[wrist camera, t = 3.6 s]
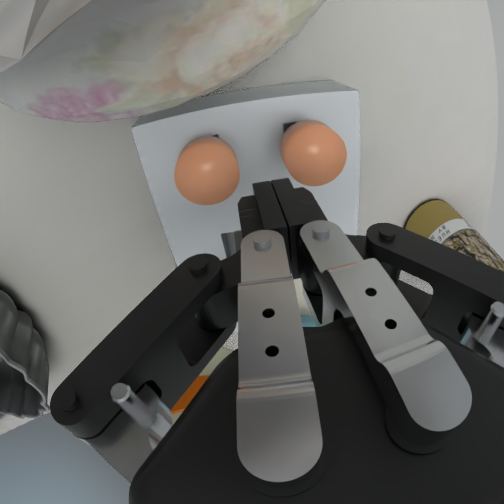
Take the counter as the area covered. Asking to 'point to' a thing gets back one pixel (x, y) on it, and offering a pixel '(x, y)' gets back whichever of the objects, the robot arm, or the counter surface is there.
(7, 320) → the bundt pan
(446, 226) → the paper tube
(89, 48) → the ceramic pitcher
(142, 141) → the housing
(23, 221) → the counter surface
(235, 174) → the plunger
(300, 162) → the plunger
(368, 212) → the counter surface
